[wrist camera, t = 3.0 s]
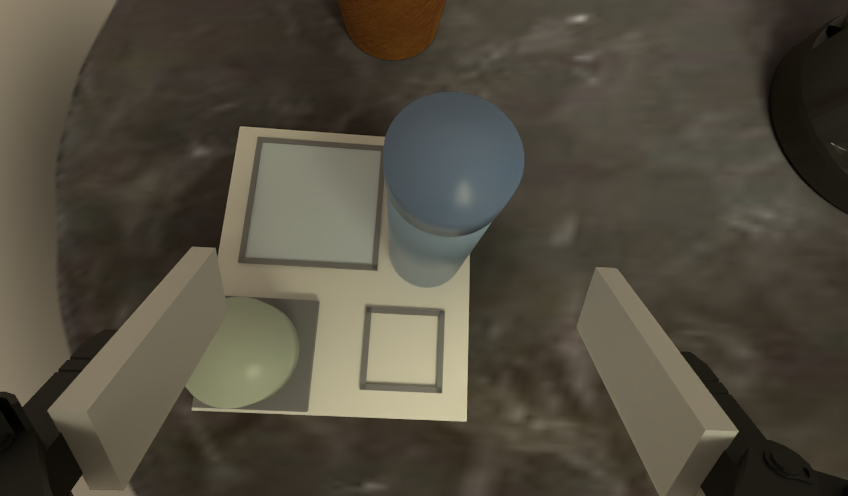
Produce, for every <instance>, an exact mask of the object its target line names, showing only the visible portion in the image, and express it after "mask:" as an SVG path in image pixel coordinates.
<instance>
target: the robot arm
mask: <svg viewBox="0 0 848 496" xmlns="http://www.w3.org/2000/svg"><path fill="white" fill-rule="evenodd" d="M771 113H772V119H773V123H774V127H775V130H776V133H777V136H778V138H779V141H780V143H781V145H782V147H783V149H784V151H785V153H786V155H787V156H788V158H789V159H790V161H791V163H792V164H793V165H794V167H795V168H796V170H797V171H798V172H799V173H800V175H801V176H802V177H803V178H804V179H805V180H806V181H807V182H808V183H809V184H810V185H811V186H812V187H813V188H814V189H815V190H816V191H817V192H818V193H819V194H820V195H822V196H823V197H824V198H825V199H827V200H828V201H829V202H831V203H832V204H834V205H835V206H836V207H838V208H840V209H841V210H843V211H845V212H847V213H848V12H847V13H845V14H843V15H840V16H838V17H836V18H834V19H833V20H831V21H829V22H828V23H826V24H824V25H823V26H821V27H820V28H819V29H817V30H816V31H815V32H814V33H812V34H811V35H810V36H808V37H807V38H806V39H805V40H803V41H802V42H801V43H799V44H798V45H797V46H796V47H794V48H793V49H792V50H791V51H790V52H789V53H788V54H787V55H786V56H785V57H784V59H783V60H782V62H781V63H780V65H779V67H778V69H777V71H776V73H775V76H774V79H773V83H772V88H771ZM227 313H228V309H227V304H226V299H225V294H224V289H223V284H222V278H221V273H220V268H219V263H218V258H217V253H216V248H209V247H191V249H190V250H189V251H188V252H187V253H186V254H185V255H184V256H183V258H182V259H181V260H180V261H179V262H178V263H177V264H176V265H175V267H174V268H173V269H172V270H171V271H170V272H169V273H168V275H167V276H166V277H165V278H164V279H163V280H162V281H161V282H160V284H159V285H158V286H157V287H156V288H155V289H154V290H153V291H152V293H151V294H150V295H149V296H148V297H147V298H146V299H145V300H144V302H143V303H142V304H141V305H140V306H139V307H138V308H137V310H136V311H135V312H134V313H133V314H132V315H131V316H130V317H129V319H128V320H127V321H126V322H125V323H124V324H123V325H122V326H121V328H120V329H119V330H103V331H101V332H100V333H98V334H97V335H95V336H93V337H92V338H90V339H89V340H87V341H85V342H84V343H83V344H82V345H81V346H80V347H79V348H78V349H77V351H76V352H75V353H74V354H73V355H72V356H71V357H70V360H67V361H66V362H65V363H64V364H63V365H62V366H61V368H59V371H58V372H56V373H55V374H54V375H53V376H52V377H51V378H50V379H49V380H48V381H47V382H46V383H45V384H44V385H43V386H42V387H41V388H40V390H38V391H37V393H36V394H35V395H34V396H33V397H32V398H31V399H30V400H29V401H28V402H27V403H26V404H25V405H24V406H23V407H22V406H21V404H20V403H19V401H18V399H17V398H16V396H15V395H14V394H11V393H7V392H0V496H73V494H72V492H71V490H72V488H73V487H74V486H75V484H76V483H77V481H78V480H79V478H80V477H81V476H83V477H84V479H85V481H86V483H87V485H88V487H89V489H90V490H124V489H125V487H126V486H127V484H128V482H129V481H130V479H131V477H132V475H133V474H134V472H135V470H136V469H137V467H138V465H139V463H140V462H141V460H142V458H143V457H144V455H145V453H146V452H147V450H148V448H149V446H150V445H151V443H152V441H153V440H154V438H155V436H156V435H157V433H158V431H159V429H160V428H161V426H162V424H163V423H164V421H165V419H166V417H167V416H168V414H169V412H170V411H171V409H172V407H173V406H174V404H175V402H176V400H177V399H178V397H179V395H180V394H181V392H182V390H183V388H184V387H185V385H186V383H187V382H188V380H189V378H190V377H191V375H192V373H193V371H194V370H195V368H196V366H197V365H198V363H199V361H200V360H201V358H202V356H203V354H204V353H205V351H206V349H207V348H208V346H209V344H210V342H211V341H212V339H213V337H214V336H215V334H216V332H217V331H218V329H219V327H220V325H221V324H222V322H223V320H224V319H225V317H226V315H227ZM576 328H577V330H578V332H579V334H580V336H581V338H582V340H583V342H584V344H585V346H586V348H587V350H588V352H589V354H590V356H591V358H592V360H593V362H594V364H595V366H596V368H597V370H598V372H599V374H600V376H601V378H602V380H603V383H604V385H605V387H606V389H607V391H608V393H609V395H610V397H611V399H612V401H613V403H614V405H615V407H616V409H617V411H618V413H619V415H620V417H621V419H622V421H623V423H624V425H625V427H626V429H627V431H628V433H629V435H630V437H631V439H632V441H633V443H634V445H635V448H636V450H637V452H638V454H639V456H640V458H641V460H642V462H643V464H644V466H645V468H646V470H647V472H648V474H649V476H650V478H651V480H652V482H653V484H654V486H655V488H656V490H657V492H658V494H659V496H696V494H697V493H698V491H699V490H700V488H702V490H703V492H704V493H705V495H706V496H848V480H845V479H842V478H839V477H835V476H832V475H828V474H825V473H822V472H818V471H815V470H813V469H812V467H811V466H810V465H809V463H808V462H806V461H805V460H804V459H803V458H802V457H801V456H800V455H798V454H797V453H796V452H794V451H792V450H791V449H789V448H788V447H786V446H784V445H782V444H779V443H776V442H774V441H771V440H767V439H766V438H765V437H764V436H763V434H762V433H761V432H760V431H759V429H758V428H757V427H756V425H755V424H754V423H753V422H752V420H751V419H750V418H749V417H748V415H747V414H746V413H745V412H744V410H743V409H742V408H741V407H740V405H739V404H738V403H737V402H736V400H735V399H734V398H733V397H732V395H729V394H728V390H727V389H726V388H725V387H724V385H723V384H722V383H719V379H718V378H717V377H716V375H715V374H714V373H713V372H712V370H711V369H710V368H709V367H708V365H707V364H705V363H704V362H703V361H701V360H700V359H699V358H698V357H696V356H695V355H694V354H692V353H691V352H679V351H678V349H677V348H676V347H675V345H674V344H673V343H672V341H671V340H670V339H669V337H668V336H667V335H666V333H665V332H664V331H663V329H662V328H661V327H660V325H659V324H658V323H657V321H656V320H655V319H654V317H653V316H652V315H651V313H650V312H649V311H648V309H647V308H646V307H645V305H644V304H643V303H642V301H641V300H640V299H639V297H638V296H637V295H636V293H635V292H634V291H633V289H632V288H631V286H630V285H629V284H628V282H627V281H626V280H625V278H624V277H623V276H622V274H621V273H620V272H619V270H618V269H617V268H602V267H596V268H595V271H594V274H593V277H592V280H591V283H590V287H589V290H588V293H587V296H586V299H585V302H584V305H583V308H582V311H581V314H580V317H579V321H578V324H577V327H576Z"/></svg>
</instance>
